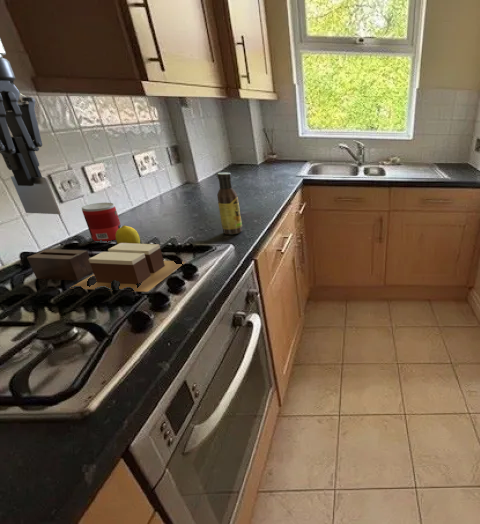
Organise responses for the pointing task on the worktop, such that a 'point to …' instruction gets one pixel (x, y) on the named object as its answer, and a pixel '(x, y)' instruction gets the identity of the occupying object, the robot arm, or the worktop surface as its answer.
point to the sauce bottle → (228, 205)
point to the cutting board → (145, 285)
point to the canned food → (102, 221)
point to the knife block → (60, 264)
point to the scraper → (34, 186)
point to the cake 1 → (120, 267)
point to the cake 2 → (150, 251)
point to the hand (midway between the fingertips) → (31, 184)
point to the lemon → (127, 235)
